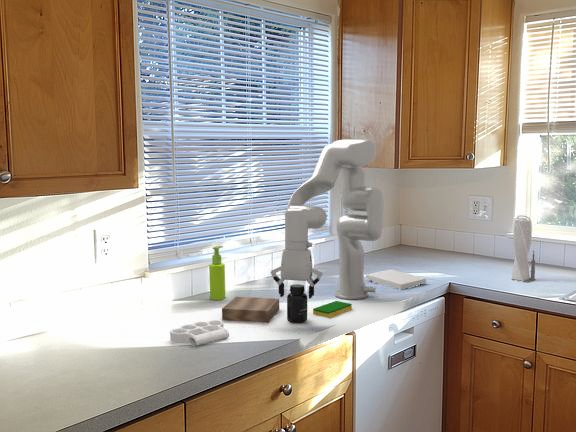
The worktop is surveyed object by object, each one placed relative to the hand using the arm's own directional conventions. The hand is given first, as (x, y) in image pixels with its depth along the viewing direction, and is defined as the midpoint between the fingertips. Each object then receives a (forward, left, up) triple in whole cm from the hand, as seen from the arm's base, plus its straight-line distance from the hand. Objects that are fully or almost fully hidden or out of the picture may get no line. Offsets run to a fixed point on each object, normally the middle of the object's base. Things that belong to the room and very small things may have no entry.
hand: (296, 296), depth 199 cm
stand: (+17, -4, -8) cm, 19 cm away
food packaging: (-30, -61, -9) cm, 69 cm away
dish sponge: (-10, -14, -9) cm, 19 cm away
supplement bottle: (0, 0, -9) cm, 9 cm away
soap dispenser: (+36, -24, -9) cm, 44 cm away
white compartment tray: (+26, +21, -9) cm, 35 cm away
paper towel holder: (-82, -75, -9) cm, 112 cm away
